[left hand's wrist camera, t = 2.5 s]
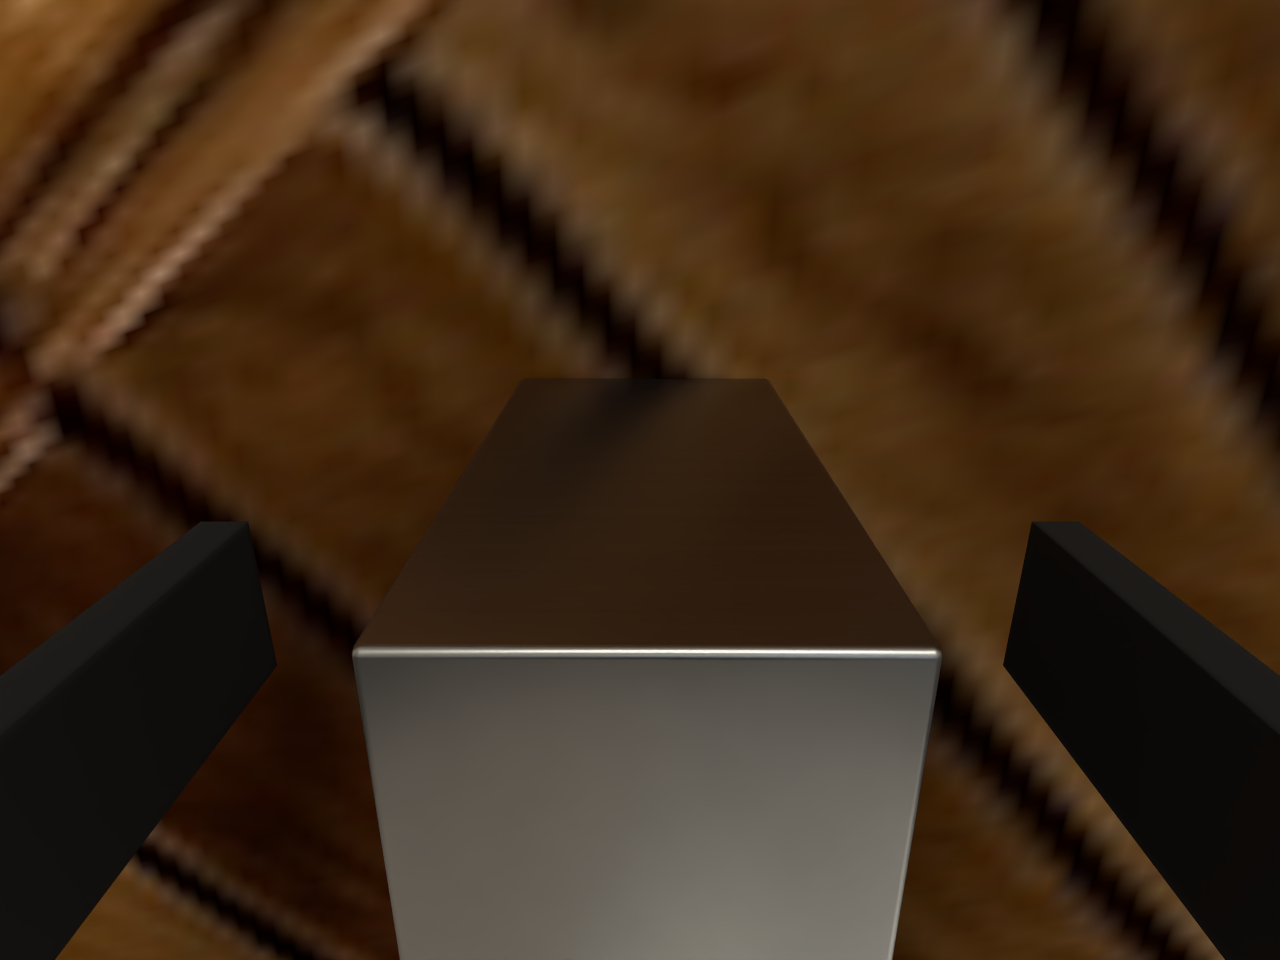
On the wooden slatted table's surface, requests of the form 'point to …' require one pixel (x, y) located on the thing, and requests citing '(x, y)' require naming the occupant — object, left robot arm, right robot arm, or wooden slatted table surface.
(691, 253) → the wooden slatted table surface
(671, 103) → the wooden slatted table surface
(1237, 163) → the wooden slatted table surface
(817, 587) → the bar
